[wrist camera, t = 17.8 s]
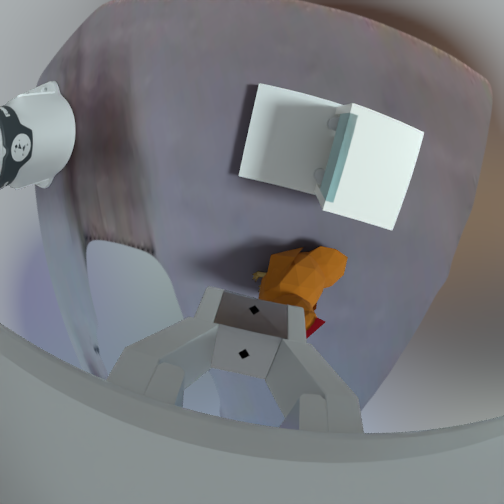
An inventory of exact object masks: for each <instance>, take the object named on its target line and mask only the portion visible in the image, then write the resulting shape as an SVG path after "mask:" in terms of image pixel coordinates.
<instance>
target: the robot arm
mask: <svg viewBox="0 0 504 504" xmlns="http://www.w3.org/2000/svg"><path fill="white" fill-rule="evenodd" d="M46 90H47V91H46ZM74 141H75V120H74V115H73V112H72V109H71V107H70V105H69V103H68V102H67V101H66V99H65V98H64V97H63V96H62V95H61V94H60V91H59V87H58V84H57V83H56V82H55V81H50V82H47V83H45V84H43V85H41V86H38V87H36V88H34V89H32V90H30V91H28V92H26V93H24V94H21V95H18V97H16V98H14V99H12V100H10V101H8V102H7V103H6V104H5V105H3V106H0V189H2V188H4V187H5V186H7V185H9V186H10V187H12V188H14V189H15V190H19V189H22V188H25V187H28V186H31V185H34V184H35V185H37V186H39V187H41V188H47V187H49V186H50V184H51V182H52V180H53V178H54V176H55V175H56V174H57V173H58V172H59V171H61V170H62V169H63V168H64V166H65V165H66V164H67V162H68V160H69V158H70V156H71V153H72V150H73V146H74ZM210 368H215V369H220V370H225V371H229V372H234V373H239V374H243V375H248V376H252V377H256V378H261V379H265V381H266V383H267V385H268V387H269V389H270V391H271V393H272V395H273V397H274V399H275V400H276V402H277V404H278V406H279V408H280V410H281V412H282V413H283V415H284V417H285V420H284V421H283V423H282V424H281V425H280V427H279V428H278V427H271V426H264V425H258V424H252V423H247V422H241V421H236V420H231V419H227V418H222V417H218V416H213V415H208V414H205V413H201V412H197V411H193V410H190V409H186V408H183V395H184V390H185V389H186V388H187V387H188V386H190V385H191V384H192V383H193V382H195V381H196V380H197V379H198V378H200V377H201V376H202V375H203V374H205V373H206V372H207V371H208V370H210ZM0 504H504V416H500V417H496V418H493V419H489V420H484V421H479V422H475V423H470V424H464V425H459V426H453V427H446V428H439V429H431V430H422V431H410V432H396V433H395V432H394V433H364V431H363V424H362V418H361V412H360V406H359V400H358V397H357V396H356V395H355V394H354V393H353V391H352V390H351V389H350V388H349V387H348V386H347V385H346V383H345V382H344V381H343V380H342V379H341V378H340V377H339V376H338V374H337V373H336V372H335V371H334V370H333V369H332V367H331V366H330V365H329V364H328V363H327V362H326V361H325V359H324V358H323V357H322V356H321V355H320V354H319V353H318V351H317V350H316V349H315V348H314V347H313V346H312V344H308V343H307V341H306V329H305V317H304V309H303V308H302V307H298V306H292V305H285V304H280V303H275V302H270V301H266V300H261V299H257V298H254V297H250V296H246V295H242V294H239V293H235V292H231V291H227V290H223V289H219V288H215V287H211V286H208V287H207V288H206V290H205V293H204V295H203V297H202V300H201V302H200V304H199V307H198V309H197V312H196V314H195V316H194V318H192V317H187V318H185V319H183V320H181V321H179V322H177V323H175V324H173V325H171V326H169V327H167V328H165V329H163V330H161V331H159V332H157V333H155V334H153V335H151V336H148V337H146V338H144V339H142V340H140V341H138V342H136V343H134V344H132V345H130V346H127V347H125V349H124V350H123V352H122V354H121V355H120V357H119V359H118V360H117V362H116V364H115V366H114V367H113V369H112V371H111V372H110V374H109V376H108V378H107V379H106V380H103V379H101V378H99V377H97V376H94V375H92V374H90V373H88V372H86V371H83V370H81V369H79V368H77V367H75V366H73V365H71V364H69V363H67V362H65V361H63V360H61V359H59V358H57V357H55V356H54V355H52V354H50V353H48V352H46V351H44V350H43V349H41V348H39V347H37V346H36V345H34V344H32V343H31V342H29V341H27V340H26V339H24V338H22V337H21V336H19V335H18V334H16V333H14V332H13V331H11V330H10V329H8V328H7V327H5V326H4V325H2V324H1V323H0Z"/></svg>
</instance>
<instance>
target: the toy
mask: <svg viewBox="0 0 504 504" xmlns="http://www.w3.org/2000/svg"><path fill="white" fill-rule="evenodd" d="M302 248H303V247H302ZM302 248H297V249H293V250H289V251H285V252H281V253H276V254H272V255H271V257H270V262H269V267H268V272H267V273H265V272H260V271H258V272H256V273H254V274H252V275H254V277H253V279H255V278H256V280H255V282H256V281H257V279H258V278H259V277H263V278H262V281H261V285H260V286H258V287H260V289H259V291H260V293H259V299H261V300H266V301H270V302H275V303H280V304H285V305H292V306H298V307H302V308H303V309H304V317H305V329H306V339H307V338H308V337H309V336H310V335H311V334H312V333H314V332H315V331H316V330H317V329H318V328H319V327H320V326H322V325H323V324H324V323H325V321H323V320H321V319H319V318H317V316H316V314H315V312H314V310H315V309H316V304H317V301H318V299H319V297H320V295H321V294H322V292H323V288H326V287H330V286H332V285H333V284H334V283H335V282H336V281H337V280H338V279H340V278H341V277H342V276H343V275H344V271H345V267H346V262H347V258H348V257H346V256H345V255H343V254H342V253H341V252H339V251H338V250H336V249H332V248H327V247H322V246H320V247H318V248H316V249H314V250H312V251H310V252H300V251H301V250H302ZM299 252H300V253H299ZM253 279H252V280H253ZM259 291H258V292H259Z"/></svg>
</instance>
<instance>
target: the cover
mask: <svg viewBox="0 0 504 504" xmlns="http://www.w3.org/2000/svg"><path fill="white" fill-rule="evenodd" d="M335 115H338V116H340V118H339V122H338V125H337V129H336V133H335V137H334V141H333V144H332V148H331V152H330V155H329V159H328V163H327V166H326V170H325V173H324V177H323V180H322V184H321V185H319V184H316V187H315V190H314V192H315V194H316V196H317V198H318V201H319V203H320V205H321V207H322V210H324V211H328V212H331V213H335V214H339V215H342V216H346V217H349V218H353V219H356V220H359V221H363V222H366V223H369V224H373V225H376V226H379V227H382V228H386V229H389V230H393V227H394V224H395V222H396V219H397V217H398V214H399V211H400V208H401V206H402V203H403V200H404V197H405V194H406V191H407V188H408V185H409V182H410V179H411V176H412V173H413V170H414V167H415V163H416V160H417V157H418V153H419V150H420V146H421V142H422V139H423V135H424V132H422V131H420V130H418V129H416V128H413V127H411V126H409V125H407V124H405V123H402V122H400V121H398V120H395V119H393V118H391V117H388V116H386V115H383V114H381V113H378V112H376V111H373V110H371V109H368V108H365V107H362V106H360V105H357V104H354V103H351V104H346V105H342V106H338V107H337V109H336V113H335Z"/></svg>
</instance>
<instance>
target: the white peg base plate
mask: <svg viewBox="0 0 504 504" xmlns="http://www.w3.org/2000/svg"><path fill="white" fill-rule="evenodd" d="M338 106H342V105H341V104H338V103H335V102H332V101H328V100H325V99H322V98H318V97H315V96H311V95H307V94H304V93H300V92H296V91H292V90H288V89H283V88H279V87H274V86H270V85H265V84H260V83H259V86H258V91H257V95H256V99H255V103H254V108H253V112H252V117H251V121H250V126H249V130H248V135H247V139H246V144H245V148H244V153H243V158H242V162H241V167H240V172H239V176H240V177H244V178H249V179H253V180H258V181H262V182H266V183H270V184H274V185H279V186H283V187H287V188H291V189H294V190H298V191H302V192H306V193H310V194H313V195H316V194H315V192H314V190H315V187H316V184H319V185H321V184H322V180H323V177H324V173H325V170H326V166H327V163H328V159H329V155H330V152H331V148H332V144H333V141H334V137H335V133H336V129H337V125H338V122H339V118H340V116H338V115H335V113H336V109H337V107H338Z"/></svg>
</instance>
